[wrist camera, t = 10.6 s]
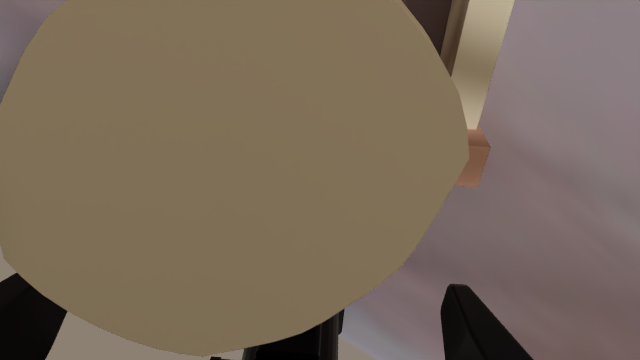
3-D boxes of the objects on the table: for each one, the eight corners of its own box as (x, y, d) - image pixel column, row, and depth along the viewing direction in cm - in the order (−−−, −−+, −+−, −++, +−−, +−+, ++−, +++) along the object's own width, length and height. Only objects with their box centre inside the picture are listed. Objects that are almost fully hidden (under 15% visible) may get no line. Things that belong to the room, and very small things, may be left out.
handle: (216, 4, 18) (-66, 250, 6) (312, -135, 15) (157, -247, 3) (300, 76, 20) (224, 386, 7) (402, -36, 17) (556, 170, 4)
